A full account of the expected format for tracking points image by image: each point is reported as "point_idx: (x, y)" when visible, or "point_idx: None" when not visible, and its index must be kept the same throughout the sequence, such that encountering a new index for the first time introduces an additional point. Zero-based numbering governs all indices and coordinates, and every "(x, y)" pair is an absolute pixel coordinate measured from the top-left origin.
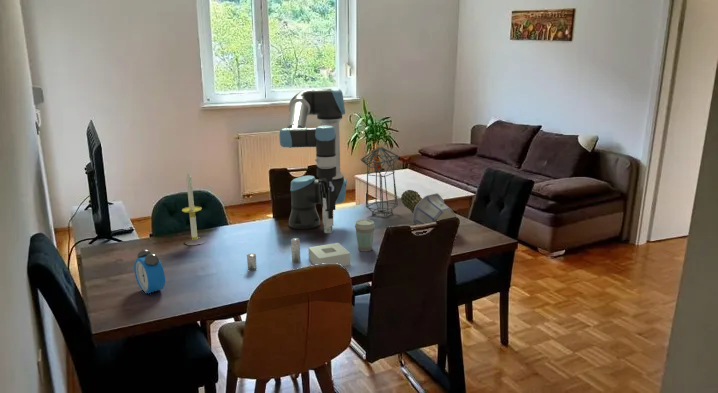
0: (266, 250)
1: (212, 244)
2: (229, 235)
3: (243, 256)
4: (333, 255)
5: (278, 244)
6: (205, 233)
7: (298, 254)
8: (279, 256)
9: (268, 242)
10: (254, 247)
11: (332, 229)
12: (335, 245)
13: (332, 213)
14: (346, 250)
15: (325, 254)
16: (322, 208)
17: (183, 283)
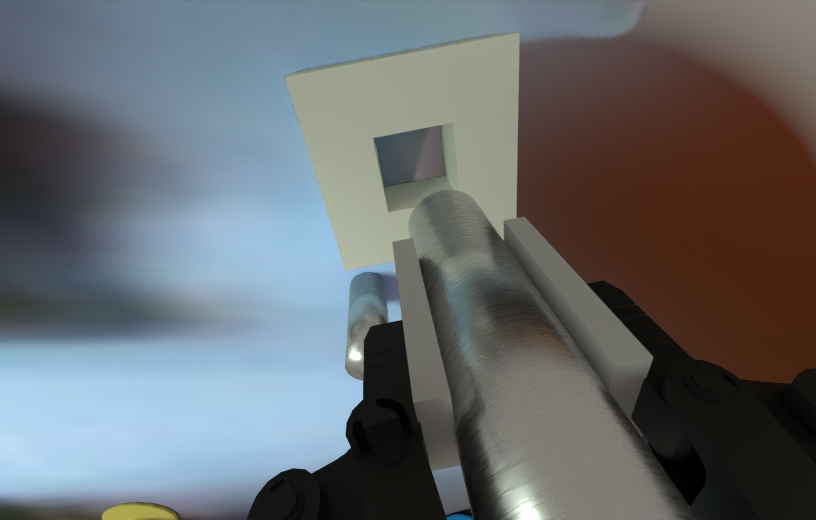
0: (222, 373)
1: (161, 489)
2: (53, 468)
3: (280, 423)
4: (511, 158)
5: (142, 339)
6: (48, 513)
7: (384, 303)
8: (295, 337)
9: (119, 370)
10: (187, 405)
11: (462, 199)
12: (342, 110)
13: (664, 334)
14: (462, 48)
15: (477, 200)
16: (433, 456)
17: (438, 492)
